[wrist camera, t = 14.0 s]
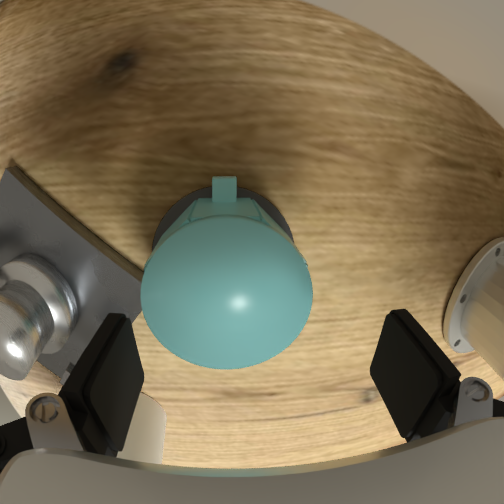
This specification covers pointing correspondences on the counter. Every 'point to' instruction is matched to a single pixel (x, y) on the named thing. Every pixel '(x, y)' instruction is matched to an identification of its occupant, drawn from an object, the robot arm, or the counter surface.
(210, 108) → the counter surface
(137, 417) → the cylindrical container
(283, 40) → the counter surface
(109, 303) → the grey square base plate
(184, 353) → the cap
